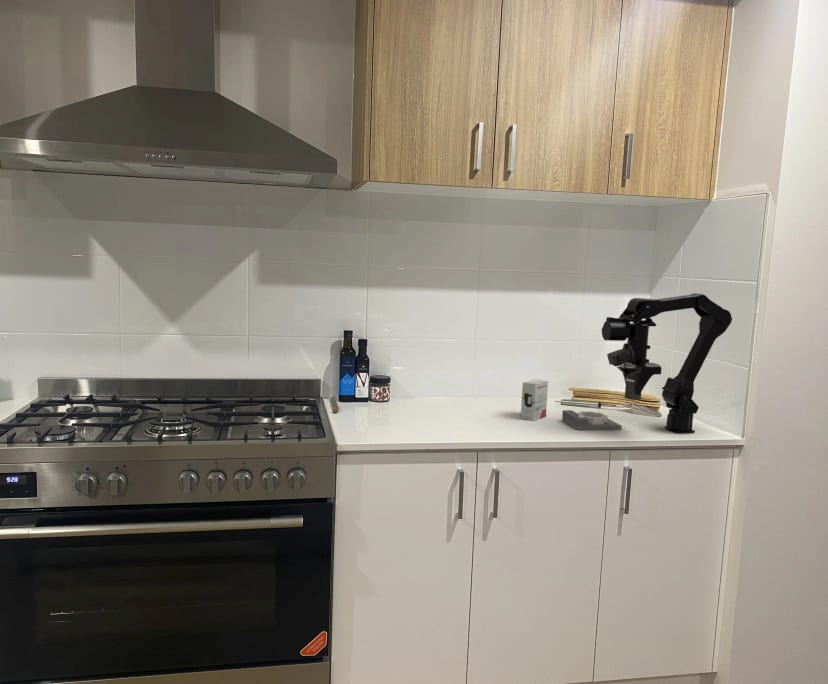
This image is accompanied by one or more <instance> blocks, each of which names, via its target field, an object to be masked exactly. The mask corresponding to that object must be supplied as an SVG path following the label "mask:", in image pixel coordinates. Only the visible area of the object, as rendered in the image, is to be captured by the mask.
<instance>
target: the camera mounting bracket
mask: <svg viewBox="0 0 828 684" xmlns="http://www.w3.org/2000/svg"><path fill="white" fill-rule="evenodd" d="M561 414H562V416H561V417H562V418H561V421H563V422H564V423H566V424H568V425H569V426H571V427H572V428H574V429H576V430H577V431H602V430H603V431H605V430H606V431H611V430H613V431H614V430H622V428H623V427H622V425H621V424H620V423H617V422H616V421H613V420H612V419H610V418H608V415H606V414H604V413H602V412H599V411H591V410H590V411H589V410H588V411H585V410H583V411H579V412H576V411H574V410H571V409H570V410H569V409H568V410H567V409H564V410H563V409H562V413H561Z"/></svg>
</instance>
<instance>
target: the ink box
mask: <svg viewBox="0 0 828 684" xmlns="http://www.w3.org/2000/svg"><path fill="white" fill-rule="evenodd" d="M548 386H549V381H548V380H543V379H536V378H535V379H532V380H528V381H527V380H526V381H524V382H522V390H521V408H520V419H523V420H526V421H532V422H533V421H537V420H539V419H543V418H545V417H546V416H547V408H548V407H547V404H548Z"/></svg>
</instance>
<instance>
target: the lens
mask: <svg viewBox="0 0 828 684" xmlns="http://www.w3.org/2000/svg"><path fill="white" fill-rule="evenodd" d="M624 388H625V390H624V398H625V399H627V400H634V401H641V400H642V392H641V393H640V395H636V393H635V377H634V375H633V374H627V375H626V384H625V387H624Z"/></svg>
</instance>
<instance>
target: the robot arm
mask: <svg viewBox="0 0 828 684" xmlns="http://www.w3.org/2000/svg"><path fill="white" fill-rule="evenodd" d="M687 309H693V310H694V312H695V314H696V315H698V316H699V317H700V320H699V324H698V325H699V326H698V329H699V333H698V335H697V337H696V339H695V341H694V342H693V345H692V347H691V348H690V351H688V355H687V356H686V358H685V360H684V362H683V364H682V366H681V368H680V370H679V372H678V374H677V375H676V376H674V377H673V378H672V377H667V379H666V381H665V384H664V386H663V387H662V388H661V389H662V391H661V393H662V394H661V396H662V400H663V401H664V402H665V405H666V407H667V408H669V409H668V413H667V418H666V425H664V428H665V429H667V430H669V431H671V432H673V433H677V434H683V433H685V434H687V433H696V430H694V429H693V421H694V414H697V412H698V411H699V405H698V404H697V403H696V402H695V401H694V400H693V396H694V393H695V389H694V388H695V385H694V383H695V380H696V378H697V376H698V374H699V372H700V370H701V369H702V367H703V365H704V363H705V360H706V359H707V357H708V355H709V353H710V351H711V350H712V347H713V345H714V343H715V341H716V339H718V338H719V337H720V336H722V335H723V334H724V333H725V332H727V330H728V328H729V327H730V325H731V323H732V321H733V317H732V314H731V312H730V311H729V310H728V309H725V308H723V307H722V306H721V305H719V304H717V303H716V302H714V301H713V300H711V299H710V298H709V297H708V296H707V295H705V294H704V293H691V294H686V295H680V296H671V297H664V298H646V297H645V298H642V297H633V298H631V299H630V300H629V301H628V302H627V305H626V308H625V309H624V310H623V312H622V313H621V314H620V315H619V317H611V316H607V317H606V319H605V322H603V325H602V327H601V335H602V336H601V337H602V339H603V340H604V341H614V342H615V341H617V342H618V341H622V342H624V343H623V345H622V348H621V349H617V350H614V351H611V352H608V353H607V354H606V356H607V360H608V365H610V366H611V365H612V366H613V367H616V368H617V369H618V370H619V371H620V372H621V373H622V375H623V379H624V384H625V385H626V375H627V374H633V375H634V377H635V393H636V395H640V393H641V394H642V391H643V390H644V388H645V387H646V385H647V384H648V382H649V381H650V379H651V378H652V376H655V375H662V366H661V365H660V364H659V363H656V362H650V359H648V358H647V353H648V350H651V345H648V344H649V343H648V342H649V333H650V327H657V323H656V322H654V320H653V319H652V318H654V317H656V316H658V315H659V314H660V315H661V314H662V313H666V312H673V311H680V310H681V311H682V310H687ZM625 341H627V342H626V343H625Z"/></svg>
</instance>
